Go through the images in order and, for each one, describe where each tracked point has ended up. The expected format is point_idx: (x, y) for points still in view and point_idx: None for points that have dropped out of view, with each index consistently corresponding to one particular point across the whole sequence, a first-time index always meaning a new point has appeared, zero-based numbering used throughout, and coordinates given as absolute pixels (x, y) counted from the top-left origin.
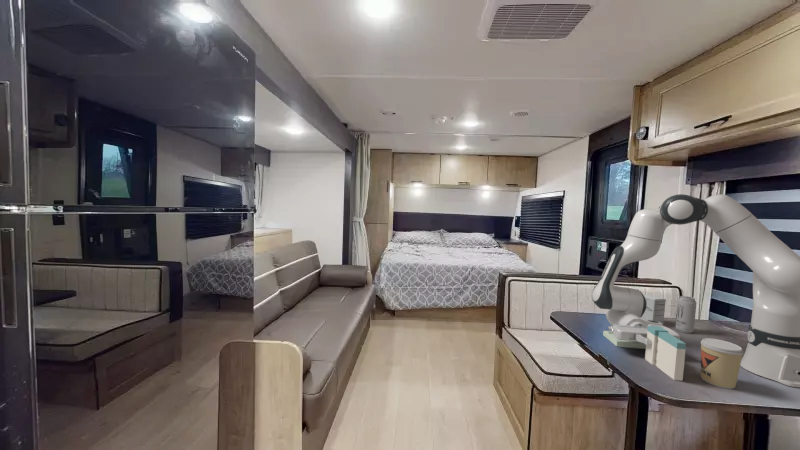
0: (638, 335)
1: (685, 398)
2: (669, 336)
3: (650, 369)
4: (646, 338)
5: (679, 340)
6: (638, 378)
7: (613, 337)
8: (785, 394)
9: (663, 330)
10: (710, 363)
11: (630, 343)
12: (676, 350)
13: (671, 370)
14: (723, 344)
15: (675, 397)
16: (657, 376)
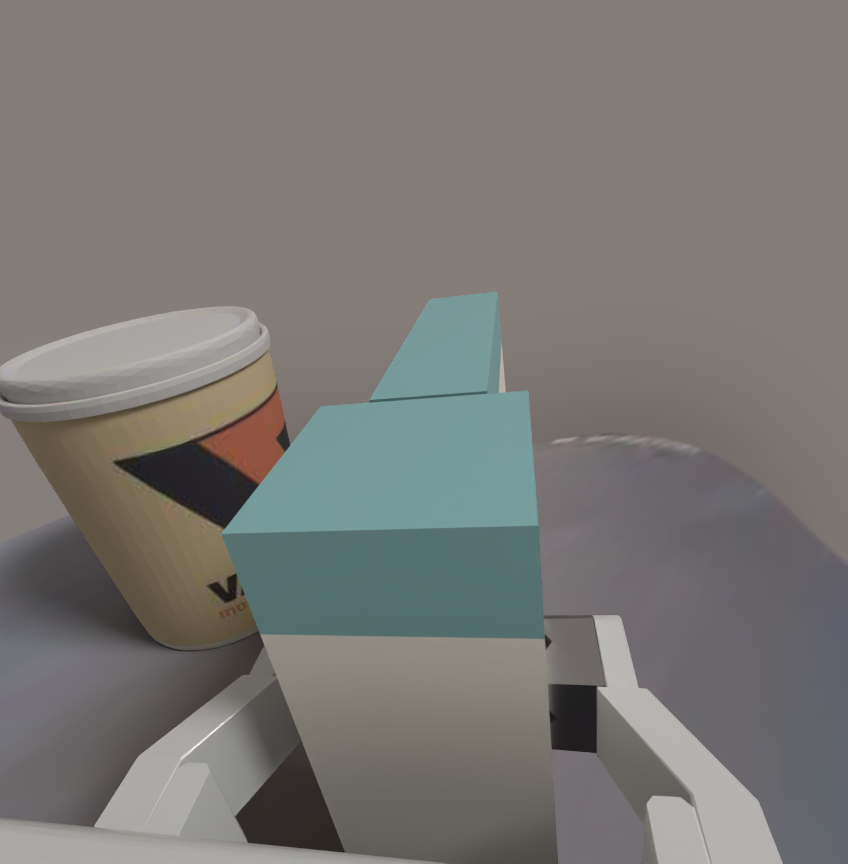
0: (745, 796)
1: (574, 444)
2: (456, 338)
3: None
4: (595, 678)
5: (431, 315)
6: (772, 536)
7: None
8: (39, 538)
9: (373, 411)
10: (289, 442)
11: None
12: (502, 359)
13: None
14: (116, 344)
15: (618, 441)
16: (614, 579)
